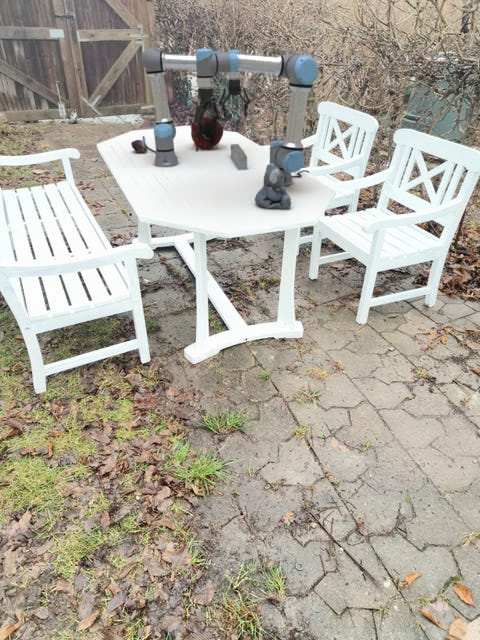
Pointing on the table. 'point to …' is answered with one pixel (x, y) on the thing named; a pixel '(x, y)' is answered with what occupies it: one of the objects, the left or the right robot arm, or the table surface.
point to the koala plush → (273, 190)
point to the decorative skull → (206, 134)
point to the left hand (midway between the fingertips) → (234, 115)
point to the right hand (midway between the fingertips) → (207, 136)
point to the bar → (239, 156)
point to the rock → (138, 146)
